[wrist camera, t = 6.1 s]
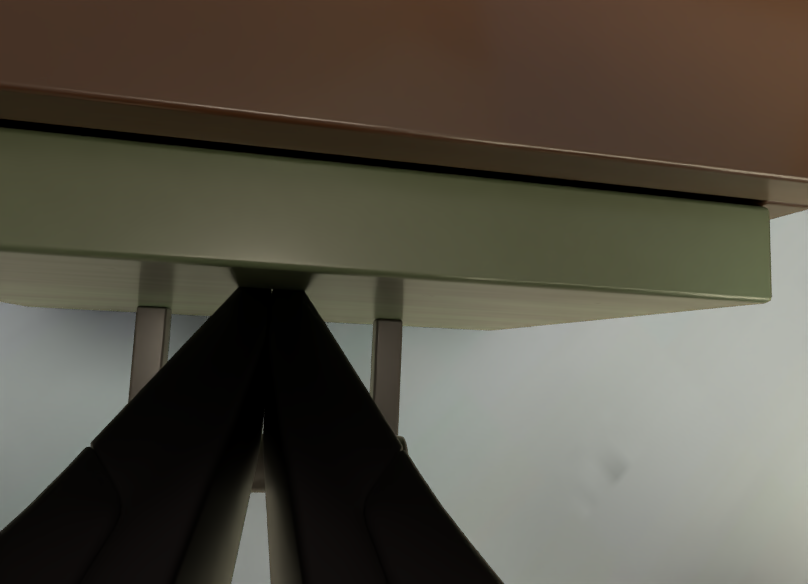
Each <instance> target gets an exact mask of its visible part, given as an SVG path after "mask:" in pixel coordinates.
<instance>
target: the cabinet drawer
mask: <svg viewBox="0 0 808 584" xmlns="http://www.w3.org/2000/svg"><path fill="white" fill-rule="evenodd" d="M571 181H573V180H571V179H561V178H552V177H543V176H533V175H524V174H515V173H505V172H496V171H487V170H477V169H468V168H459V167H449V166H440V165H431V164H421V163H412V162H402V161H393V160H384V159H374V158H365V157H356V156H346V155H337V154H328V153H318V152H309V151H300V150H290V149H281V148H272V147H262V146H253V145H243V144H234V143H225V142H215V141H206V140H197V139H187V138H178V137H169V136H159V135H150V134H141V133H131V132H122V131H113V130H103V129H94V128H85V127H75V126H66V125H56V124H47V123H38V122H28V121H19V120H10V119H0V302H4V303H10V304H16V305H22V306H27V307H43V308H63V309H82V310H101V311H121V312H136V322H135V333H134V344H133V355H132V366H131V377H130V388H129V399H128V403H129V402H130V401H131V400H132V399H133V398H134V397H135V396H136V394H137V393H138V392H139V391H140V390H141V389H142V388H143V387H144V386H145V385H146V384H147V383H148V382H149V381H150V380H151V379H152V378H153V377H154V376H155V374H156V373H157V372H158V371H159V370H160V369H161V368H162V367H163V366H164V365H165V364H166V363H167V362H168V351H169V339H170V327H171V315H172V314H179V315H199V316H211V315H212V314H213V313H214V312H215V311H216V310H217V309H218V308H219V307H220V306H221V305H222V304H223V303H224V302H225V301H226V300H227V299H228V298H229V296H230V295H231V294H232V293H233V292H234V291H235V290H236V289H237V288H238V287H252V288H268V289H271V290H273V289H285V290H301V291H305V292H306V294H307V295H308V297H309V299H310V300H311V302H312V303H313V305H314V306H315V308H316V310H317V311H318V313H319V314H320V316H321V318H322V319H323V321H324V322H334V323H354V324H373V335H372V356H371V378H370V395H371V397H372V398H373V400H374V402H375V403H376V405H377V406H378V408H379V409H380V411H381V413H382V414H383V416H384V417H385V419H386V421H387V422H388V424H389V425H390V427H391V428H392V430H393V432H394V433H395V435H396V436H397V438H398V440H399V441H400V443H401V444H402V446H403V449H402V450H405V451H406V452H407V453H408V449H407V444H406V441H405V439H404V437H402V436H398V423H399V399H400V374H401V350H402V326H412V327H432V328H451V329H470V330H490V331H491V330H501V329H511V328H521V327H531V326H542V325H552V324H562V323H572V322H582V321H592V320H602V319H612V318H622V317H632V316H642V315H652V314H662V313H672V312H682V311H693V310H703V309H713V308H723V307H733V306H743V305H753V304H763V303H766V302H768V301H770V300H771V297H772V291H771V253H770V215H769V210H768V208H766V207H761V206H752V205H742V204H733V203H723V202H714V201H704V200H694V199H685V198H675V197H666V196H656V195H647V194H637V193H627V192H618V191H608V190H599V189H589V188H580V187H570V186H564V185H566V184H568V183H570V182H571ZM251 493H265V475H264V458H263V434H262V438H261V445H260V450H259V456H258V460H257V465H256V470H255V474H254V479H253V484H252V488H251Z"/></svg>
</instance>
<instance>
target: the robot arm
mask: <svg viewBox="0 0 808 584" xmlns="http://www.w3.org/2000/svg"><path fill="white" fill-rule="evenodd" d="M263 419H264V428H263ZM262 430H263V458H264V475H265V493H266V510H267V527H268V544H269V562H270V579H271V584H504V583H503V582H502V580H501V579H500V578H499V577H498V576H497V574H496V573H495V572H494V571H493V569H492V568H491V567H490V566H489V565H488V563H487V562H486V561H485V560H484V558H483V557H482V556H481V555H480V554H479V552H478V551H477V550H476V549H475V547H474V546H473V545H472V544H471V543H470V541H469V540H468V539H467V537H466V536H465V535H464V533H463V532H462V531H461V530H460V528H459V527H458V526H457V524H456V523H455V522H454V521H453V519H452V518H451V517H450V515H449V514H448V513H447V512H446V510H445V509H444V508H443V506H442V505H441V503H440V502H439V501H438V499H437V498H436V496H435V495H434V493H433V492H432V490H431V489H430V487H429V486H428V484H427V483H426V481H425V480H424V479H423V477H422V476H421V474H420V473H419V471H418V469H417V468H416V466H415V465H414V463H413V461H412V460H411V458H410V457H409V455H408V453H407V452H406V451H405V450H402V449H403V446H402V444H401V443H400V441H399V440H398V438H397V436H396V435H395V433H394V432H393V430H392V428H391V427H390V425H389V424H388V422H387V421H386V419H385V417H384V416H383V414H382V413H381V411H380V409H379V408H378V406H377V405H376V403H375V402H374V400H373V398H372V397H371V395H370V394H369V392H368V390H367V389H366V387H365V386H364V384H363V383H362V381H361V379H360V378H359V376H358V375H357V373H356V371H355V370H354V368H353V367H352V365H351V363H350V362H349V360H348V359H347V357H346V356H345V354H344V352H343V351H342V349H341V348H340V346H339V344H338V343H337V341H336V340H335V338H334V337H333V335H332V333H331V332H330V330H329V329H328V327H327V325H326V324H325V322H324V321H323V319H322V318H321V316H320V314H319V313H318V311H317V310H316V308H315V306H314V305H313V303H312V302H311V300H310V299H309V297H308V295H307V294H306V292H305V291H301V290H285V289H273V290H271V289H268V288H252V287H238V288H237V289H236V290H235V291H234V292H233V293H232V294H231V295H230V296H229V298H228V299H227V300H226V301H225V302H224V303H223V304H222V305H221V306H220V307H219V308H218V309H217V310H216V311H215V312H214V313H213V314H212V315H211V316H210V318H209V319H208V320H207V321H206V322H205V323H204V324H203V325H202V326H201V327H200V328H199V329H198V330H197V331H196V332H195V333H194V334H193V335H192V337H191V338H190V339H189V340H188V341H187V342H186V343H185V344H184V345H183V346H182V347H181V348H180V349H179V350H178V351H177V352H176V353H175V354H174V355H173V357H172V358H171V359H170V360H169V361H168V362H167V363H166V364H165V365H164V366H163V367H162V368H161V369H160V370H159V371H158V372H157V373H156V374H155V376H154V377H153V378H152V379H151V380H150V381H149V382H148V383H147V384H146V385H145V386H144V387H143V388H142V389H141V390H140V391H139V392H138V393H137V394H136V396H135V397H134V398H133V399H132V400H131V401H130V402H129V403H128V404H127V405H126V406H125V407H124V408H123V409H122V410H121V411H120V412H119V413H118V415H117V416H116V417H115V418H114V419H113V420H112V421H111V422H110V423H109V424H108V425H107V426H106V427H105V428H104V429H103V430H102V431H101V432H100V433H99V435H98V436H97V437H96V438H95V439H94V440H93V441H92V442H91V447H86V448H85V449H84V450H83V451H82V452H81V453H80V454H79V455H78V456H77V457H76V458H75V459H74V460H73V462H72V463H71V464H70V465H69V466H68V467H67V468H66V469H65V470H64V471H63V472H62V473H61V474H60V475H59V476H58V477H57V478H56V479H55V480H54V481H53V482H52V483H51V484H50V485H49V486H48V487H47V488H46V489H45V490H44V491H43V492H42V493H41V494H40V495H39V496H38V497H37V498H36V499H35V500H34V501H33V502H32V503H31V504H30V505H29V506H28V507H27V508H26V509H25V510H24V511H23V512H21V513H20V514H19V515H18V516H17V517H16V518H15V519H14V520H13V521H11V522H10V523H9V524H8V525H7V526H6V527H5V528H4V529H3V530H1V531H0V584H231V582H232V577H233V572H234V568H235V563H236V558H237V554H238V549H239V544H240V540H241V535H242V530H243V526H244V521H245V516H246V512H247V507H248V502H249V498H250V493H251V488H252V484H253V479H254V474H255V470H256V465H257V460H258V456H259V450H260V445H261V438H262Z"/></svg>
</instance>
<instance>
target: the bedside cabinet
mask: <svg viewBox="0 0 808 584" xmlns="http://www.w3.org/2000/svg"><path fill="white" fill-rule="evenodd" d="M0 119H10V120H19V121H28V122H38V123H47V124H56V125H66V126H75V127H85V128H94V129H103V130H113V131H122V132H131V133H141V134H150V135H159V136H169V137H178V138H187V139H197V140H206V141H215V142H225V143H234V144H243V145H253V146H262V147H272V148H281V149H290V150H300V151H309V152H318V153H328V154H337V155H346V156H356V157H365V158H374V159H384V160H393V161H402V162H412V163H421V164H431V165H440V166H449V167H459V168H468V169H477V170H487V171H496V172H505V173H515V174H524V175H533V176H543V177H552V178H561V179H571V180H573V181H571V182H570V183H568V184H566V185H564V186H570V187H580V188H589V189H599V190H608V191H618V192H627V193H637V194H647V195H656V196H666V197H675V198H685V199H694V200H704V201H714V202H723V203H733V204H742V205H752V206H761V207H766V208H768V210H769V215H770V219H774V218H777V217H781V216H785V215H789V214H792V213H796V212H800V211H803V210H807V209H808V0H0Z"/></svg>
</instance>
